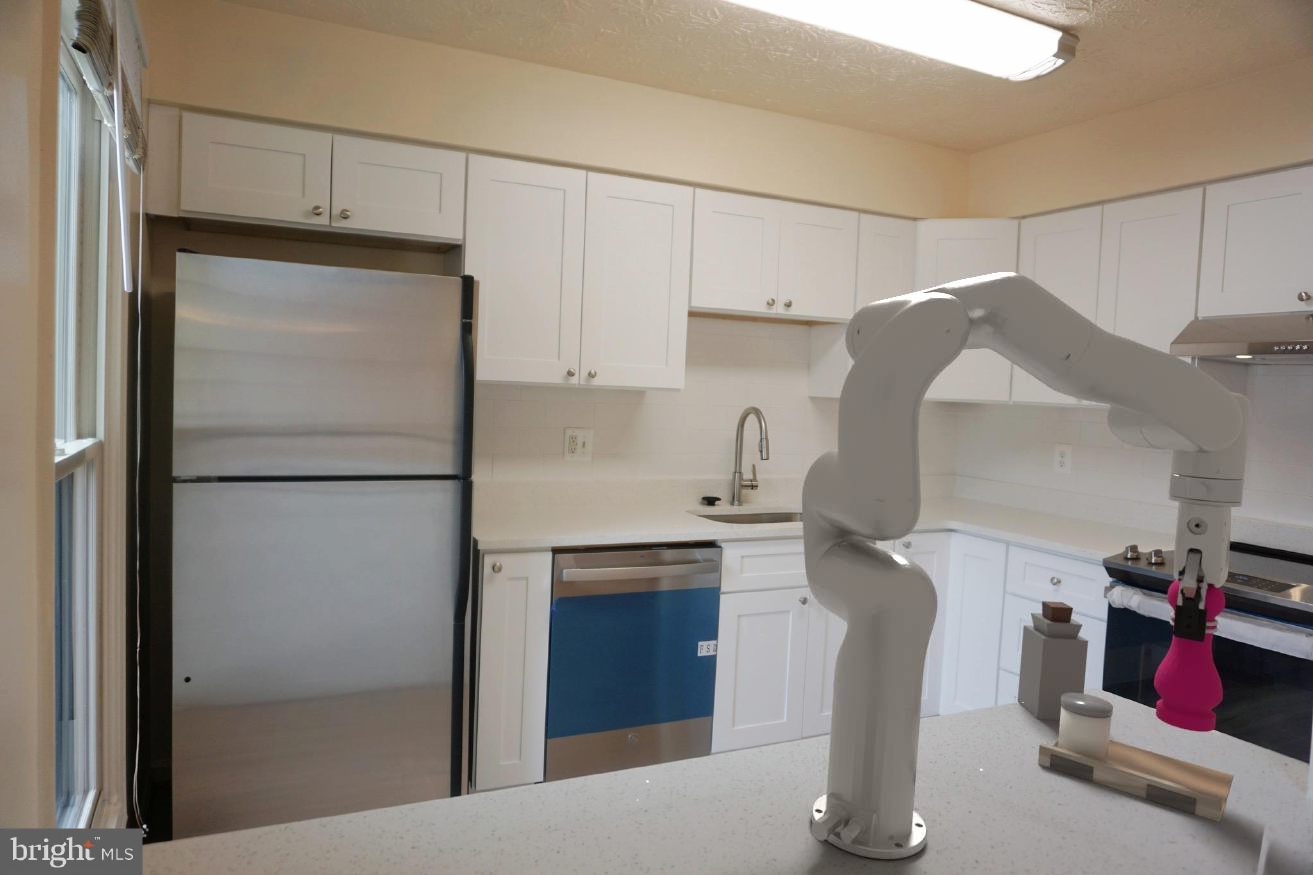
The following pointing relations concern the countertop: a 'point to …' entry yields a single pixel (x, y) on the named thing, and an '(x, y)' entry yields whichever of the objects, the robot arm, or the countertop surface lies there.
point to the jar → (1085, 725)
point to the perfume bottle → (1051, 660)
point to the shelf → (1147, 777)
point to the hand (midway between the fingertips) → (1192, 632)
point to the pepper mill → (1190, 672)
